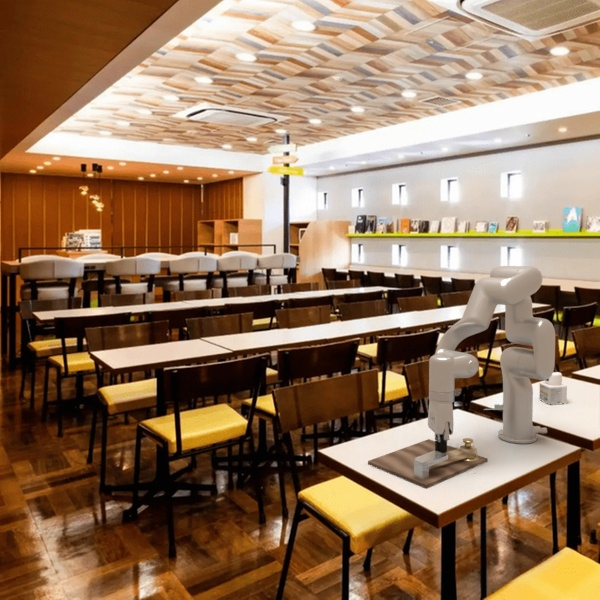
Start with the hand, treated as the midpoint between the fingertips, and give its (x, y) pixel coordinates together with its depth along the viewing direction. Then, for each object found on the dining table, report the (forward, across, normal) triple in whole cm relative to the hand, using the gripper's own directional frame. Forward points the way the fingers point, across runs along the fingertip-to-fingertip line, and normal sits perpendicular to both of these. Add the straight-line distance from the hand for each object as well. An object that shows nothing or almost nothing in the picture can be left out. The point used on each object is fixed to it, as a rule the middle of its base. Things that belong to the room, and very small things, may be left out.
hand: (440, 453), depth 171 cm
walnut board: (+3, -1, -4) cm, 5 cm away
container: (+2, -54, +69) cm, 88 cm away
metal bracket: (+3, -44, +43) cm, 62 cm away
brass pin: (+3, -1, +9) cm, 10 cm away
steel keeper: (+2, +9, -7) cm, 11 cm away
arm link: (+1, +3, +1) cm, 3 cm away
